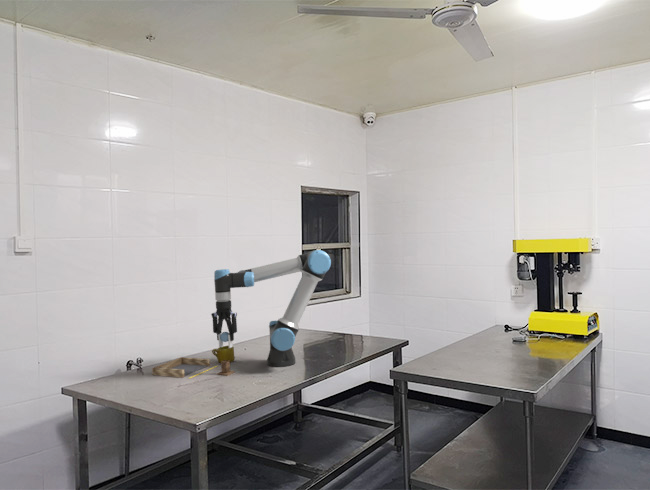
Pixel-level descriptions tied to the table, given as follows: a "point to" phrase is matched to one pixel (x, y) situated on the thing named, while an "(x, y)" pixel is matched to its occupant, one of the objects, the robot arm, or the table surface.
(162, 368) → the wooden u-shaped frame
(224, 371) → the tee
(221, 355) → the mug
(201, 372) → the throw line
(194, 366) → the mat
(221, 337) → the ball
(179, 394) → the table surface
